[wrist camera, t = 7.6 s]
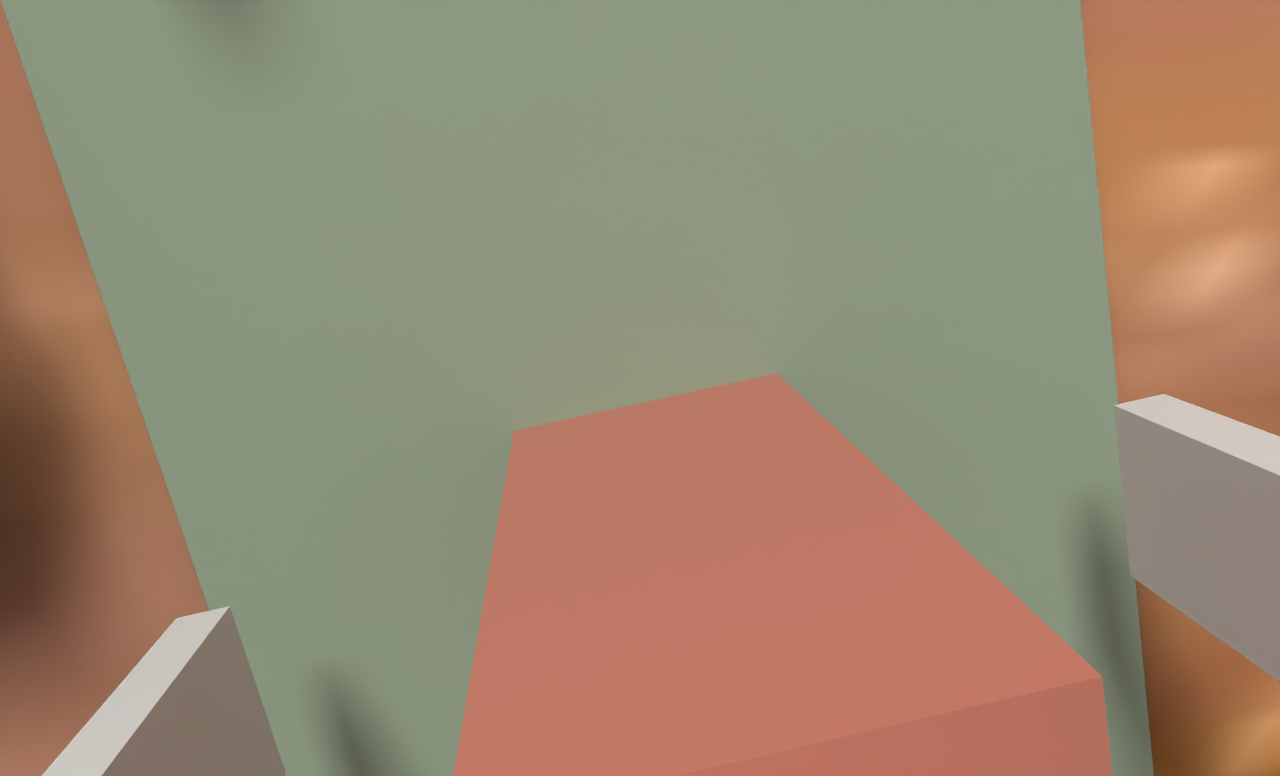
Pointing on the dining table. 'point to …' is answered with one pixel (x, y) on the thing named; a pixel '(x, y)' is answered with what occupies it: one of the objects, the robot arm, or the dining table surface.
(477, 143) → the felt mat
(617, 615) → the red tall block
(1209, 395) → the dining table surface
